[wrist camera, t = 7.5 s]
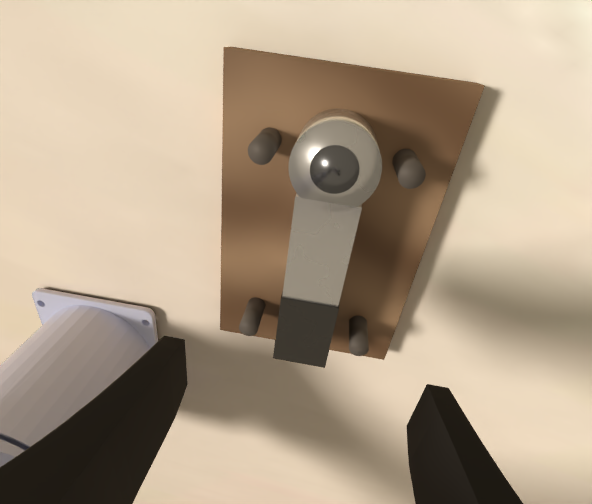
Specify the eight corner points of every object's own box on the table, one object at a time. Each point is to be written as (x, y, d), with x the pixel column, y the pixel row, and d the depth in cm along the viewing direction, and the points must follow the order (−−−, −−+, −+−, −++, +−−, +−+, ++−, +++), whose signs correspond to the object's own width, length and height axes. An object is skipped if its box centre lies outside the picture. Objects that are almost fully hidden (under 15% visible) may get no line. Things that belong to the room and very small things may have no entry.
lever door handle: (333, 331, 21) (331, 369, 18) (275, 321, 21) (266, 356, 18) (386, 115, 14) (393, 129, 12) (302, 102, 14) (293, 114, 12)
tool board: (382, 347, 22) (387, 387, 20) (225, 318, 22) (209, 354, 20) (476, 82, 14) (504, 92, 12) (230, 46, 15) (206, 48, 12)
